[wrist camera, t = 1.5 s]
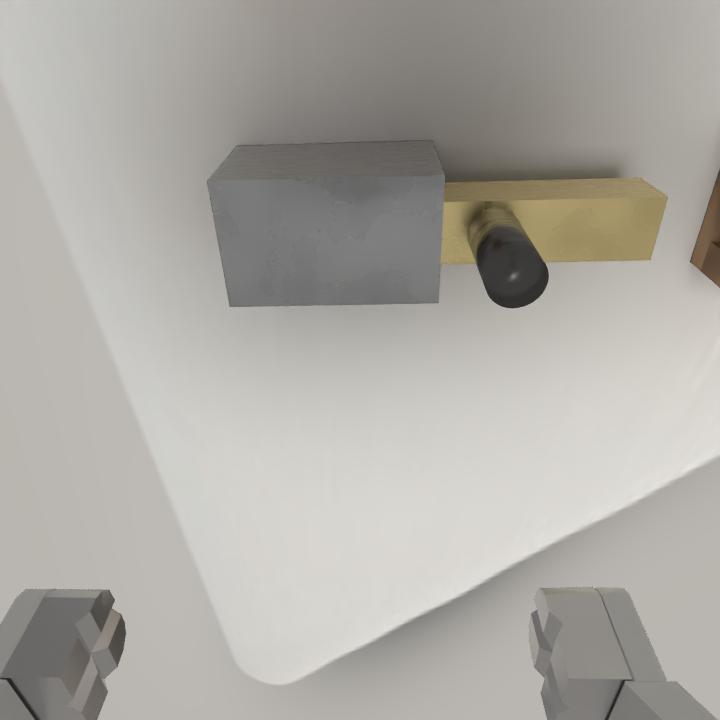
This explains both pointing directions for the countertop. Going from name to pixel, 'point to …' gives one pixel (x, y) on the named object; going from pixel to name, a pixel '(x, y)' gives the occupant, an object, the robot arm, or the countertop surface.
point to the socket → (710, 239)
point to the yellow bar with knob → (546, 228)
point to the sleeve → (330, 223)
